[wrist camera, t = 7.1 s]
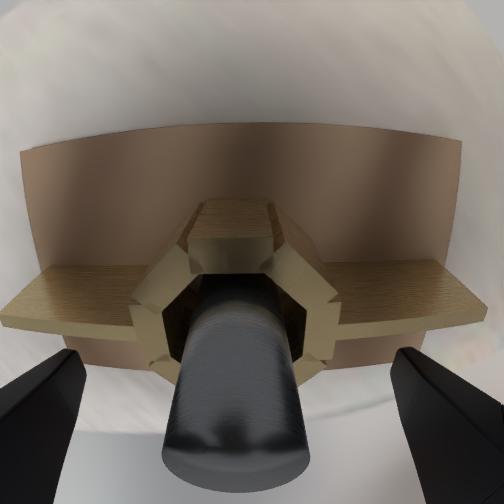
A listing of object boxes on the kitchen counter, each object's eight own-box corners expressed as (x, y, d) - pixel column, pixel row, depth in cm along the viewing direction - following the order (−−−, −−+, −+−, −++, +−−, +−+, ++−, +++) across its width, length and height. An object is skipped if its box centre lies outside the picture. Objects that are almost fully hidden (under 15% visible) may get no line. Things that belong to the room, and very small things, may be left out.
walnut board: (450, 139, 12) (461, 141, 11) (410, 348, 17) (416, 358, 16) (31, 149, 12) (19, 151, 11) (79, 352, 17) (73, 362, 16)
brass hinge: (444, 202, 12) (508, 237, 8) (420, 318, 15) (460, 374, 10) (38, 210, 12) (-24, 246, 8) (67, 323, 15) (28, 378, 10)
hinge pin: (272, 236, 13) (319, 420, 4) (272, 297, 14) (302, 489, 5) (203, 238, 13) (146, 420, 4) (208, 298, 14) (176, 490, 5)
